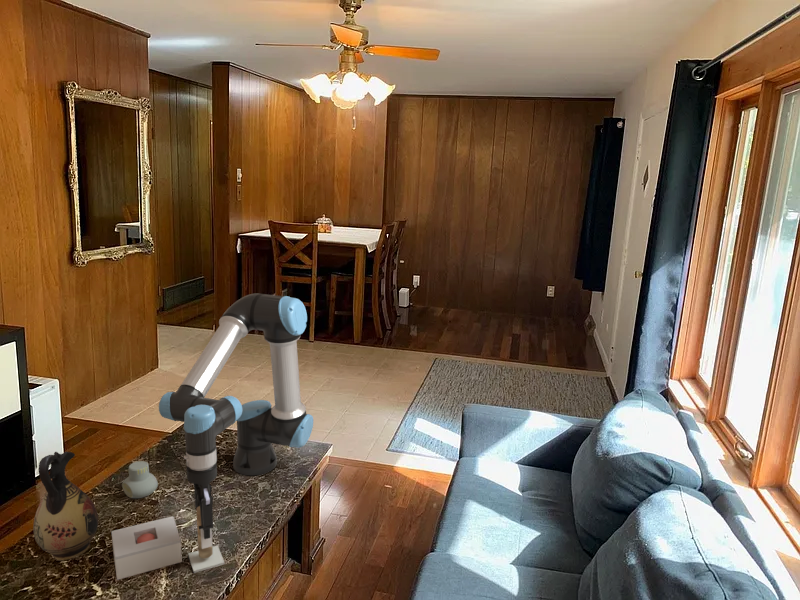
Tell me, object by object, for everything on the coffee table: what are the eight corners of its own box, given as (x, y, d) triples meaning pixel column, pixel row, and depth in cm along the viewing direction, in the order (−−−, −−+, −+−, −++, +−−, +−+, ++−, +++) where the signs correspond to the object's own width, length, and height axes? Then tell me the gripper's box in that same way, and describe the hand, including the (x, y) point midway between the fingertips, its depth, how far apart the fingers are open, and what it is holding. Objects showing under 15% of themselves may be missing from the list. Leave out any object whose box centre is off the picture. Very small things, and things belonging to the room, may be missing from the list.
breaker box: (174, 536, 173) (173, 516, 171) (181, 561, 163) (180, 539, 161) (113, 552, 165) (111, 531, 163) (117, 579, 155) (115, 557, 153)
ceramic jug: (58, 531, 173) (47, 436, 166) (110, 533, 173) (102, 439, 166) (19, 570, 157) (6, 467, 150) (78, 574, 157) (66, 471, 149)
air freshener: (120, 491, 194) (117, 463, 192) (144, 482, 200) (142, 454, 198) (136, 505, 187) (133, 476, 185) (161, 494, 193) (159, 466, 191)
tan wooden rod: (211, 548, 166) (208, 503, 162) (213, 555, 163) (211, 510, 159) (197, 552, 164) (195, 506, 161) (200, 559, 161) (197, 513, 158)
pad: (217, 547, 169) (217, 545, 169) (224, 564, 162) (224, 562, 162) (188, 555, 165) (188, 553, 165) (193, 573, 159) (193, 571, 158)
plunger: (154, 547, 167) (153, 531, 165) (156, 556, 163) (155, 540, 162) (137, 552, 164) (136, 536, 163) (139, 561, 161) (138, 545, 160)
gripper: (181, 453, 162) (185, 529, 168) (192, 482, 148) (196, 564, 154) (209, 447, 166) (212, 522, 171) (223, 476, 152) (226, 556, 157)
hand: (205, 542), depth 162 cm, fingers closed on tan wooden rod, 3 cm apart
